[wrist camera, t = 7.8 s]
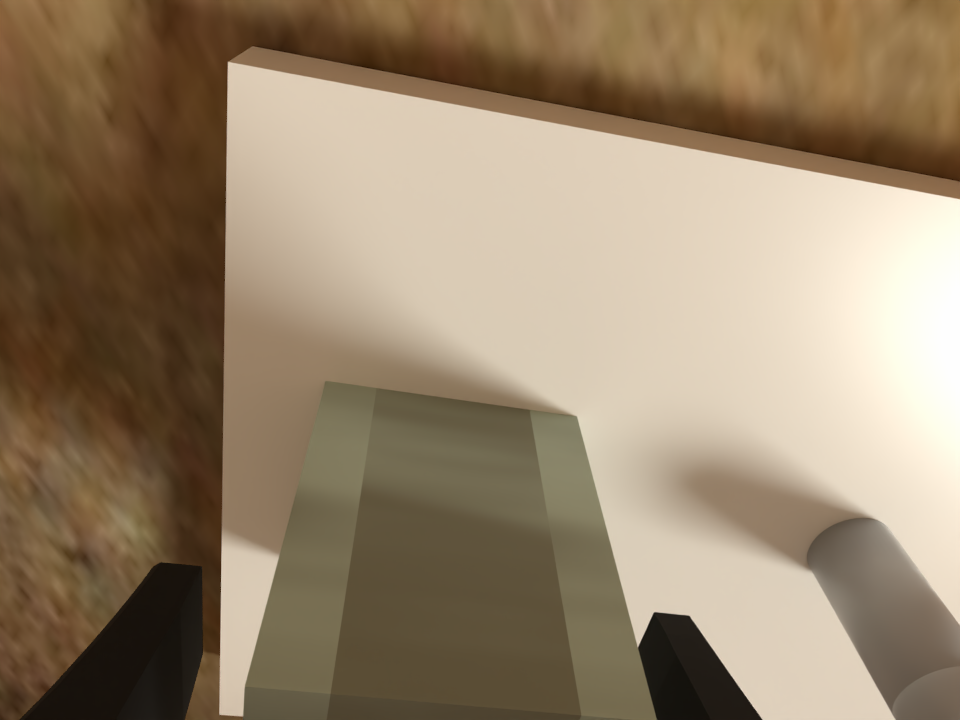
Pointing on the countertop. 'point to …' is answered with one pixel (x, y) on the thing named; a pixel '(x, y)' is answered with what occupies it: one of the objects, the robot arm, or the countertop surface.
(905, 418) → the jig board
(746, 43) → the countertop surface
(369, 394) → the square socket block
